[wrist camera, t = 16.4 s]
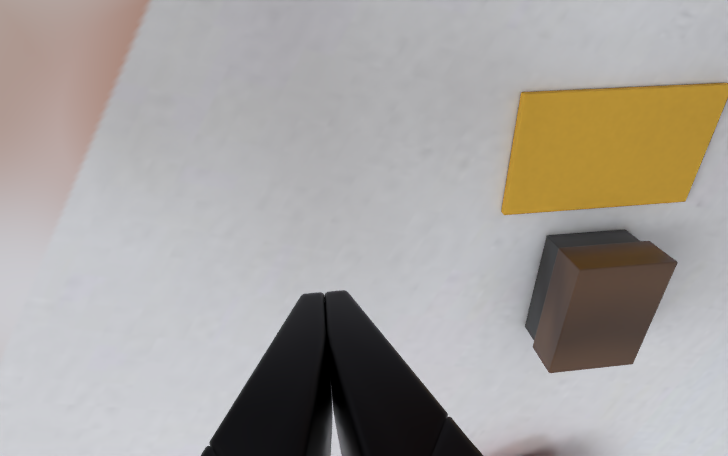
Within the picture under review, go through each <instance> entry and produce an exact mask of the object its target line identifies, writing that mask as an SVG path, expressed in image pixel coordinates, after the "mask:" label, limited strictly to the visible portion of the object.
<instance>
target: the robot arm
mask: <svg viewBox="0 0 728 456" xmlns="http://www.w3.org/2000/svg"><path fill="white" fill-rule="evenodd" d="M331 389H332V392H331ZM332 401H333V411H334V417H335V423H336V429H337V434H338V439H339V444H340V449H341V454H342V456H483V455H482V454H481V452H480V451H479V450H478V449H477V448H476V447H475V446H474V444H473V443H472V442H471V441H470V440H469V439H468V438H467V436H466V435H465V434H464V433H463V431H462V430H461V429H460V428H459V427H458V425H457V424H456V423H455V422H454V420H453V419H452V418H451V417H447V416H448V414H447V412H446V411H445V410H444V409H443V407H442V406H441V405H440V404H439V403H438V401H437V400H436V399H435V398H434V396H433V395H432V394H431V393H430V392H429V390H428V389H427V388H426V387H425V385H424V384H423V383H422V382H421V381H420V379H419V378H418V377H417V376H416V375H415V373H414V372H413V371H412V370H411V368H410V367H409V366H408V365H407V364H406V362H405V361H404V360H403V359H402V357H401V356H400V355H399V354H398V353H397V351H396V350H395V349H394V348H393V347H392V345H391V344H390V343H389V342H388V340H387V339H386V338H385V337H384V336H383V334H382V333H381V332H380V331H379V329H378V328H377V327H376V326H375V325H374V323H373V322H372V321H371V320H370V319H369V317H368V316H367V315H366V314H365V312H364V311H363V310H362V309H361V308H360V306H359V305H358V304H357V303H356V301H355V300H354V299H353V298H352V297H351V295H350V294H349V293H348V292H347V291H344V290H342V291H331V292H327V293H326V294H325V297H324V294H323V293H308V294H303V295H302V296H301V297H300V298H299V300H298V301H297V303H296V305H295V306H294V308H293V309H292V311H291V313H290V314H289V316H288V317H287V319H286V321H285V322H284V324H283V325H282V327H281V329H280V330H279V332H278V333H277V335H276V337H275V338H274V340H273V341H272V343H271V345H270V346H269V348H268V349H267V351H266V353H265V354H264V356H263V357H262V359H261V361H260V362H259V364H258V365H257V367H256V369H255V370H254V372H253V373H252V375H251V377H250V378H249V380H248V381H247V383H246V385H245V386H244V388H243V389H242V391H241V393H240V394H239V396H238V397H237V399H236V401H235V402H234V404H233V405H232V407H231V409H230V410H229V412H228V413H227V415H226V417H225V418H224V420H223V421H222V423H221V425H220V426H219V428H218V429H217V431H216V432H215V434H214V436H213V437H212V439H211V440H210V446H207V447H206V448H205V450H204V451H203V453H202V454H201V456H330V455H331V437H332Z"/></svg>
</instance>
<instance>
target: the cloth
mask: <svg viewBox="0 0 728 456" xmlns="http://www.w3.org/2000/svg"><path fill="white" fill-rule="evenodd" d="M727 99H728V83H713V84H691V85H669V86H647V87H625V88H604V89H582V90H560V91H538V92H522V93H521V97H520V103H519V108H518V114H517V120H516V126H515V132H514V138H513V144H512V150H511V156H510V162H509V168H508V174H507V180H506V186H505V192H504V198H503V204H502V210H501V212H502V213H503V214H504V215H511V214H524V213H538V212H551V211H564V210H578V209H591V208H605V207H618V206H631V205H645V204H658V203H672V202H685V201H686V198H687V196H688V194H689V191H690V189H691V186H692V184H693V181H694V179H695V177H696V174H697V172H698V169H699V167H700V164H701V162H702V160H703V157H704V155H705V152H706V150H707V147H708V145H709V142H710V140H711V138H712V135H713V133H714V130H715V128H716V125H717V123H718V121H719V118H720V116H721V113H722V111H723V108H724V106H725V103H726V101H727Z"/></svg>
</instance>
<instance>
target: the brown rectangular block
mask: <svg viewBox="0 0 728 456" xmlns="http://www.w3.org/2000/svg"><path fill="white" fill-rule="evenodd" d="M676 265H677V261H675V260H674V259H673V258H671V257H670V256H669V255H667V254H666V253H665V252H663V251H662V250H661V249H659V248H658V247H657V246H655V245H654V244H653V243H651V242H650V241H639V240H638V239H637V238H636V237H634V236H633V235H632V234H630V233H629V232H628V231H626V230H616V231H603V232H590V233H576V234H563V235H550V236H547V237H546V242H545V246H544V250H543V254H542V258H541V262H540V266H539V270H538V275H537V279H536V283H535V287H534V291H533V295H532V299H531V303H530V308H529V312H528V316H527V320H526V324H525V327H526V329H527V330H528V332H529V333H530V335H531V337H532V338H533V340H534V344H533V348H534V350H535V351H536V353H537V355H538V356H539V358H540V359H541V361H542V363H543V364H544V366H545V367H546V369H547V370H548V372H549V373H555V372H565V371H574V370H583V369H592V368H601V367H611V366H620V365H629V364H633V362H634V360H635V358H636V356H637V353H638V351H639V349H640V347H641V344H642V342H643V340H644V337H645V335H646V333H647V331H648V328H649V326H650V324H651V322H652V319H653V317H654V315H655V313H656V310H657V308H658V306H659V303H660V301H661V299H662V297H663V294H664V292H665V290H666V288H667V285H668V283H669V281H670V278H671V276H672V274H673V272H674V269H675V267H676Z"/></svg>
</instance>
